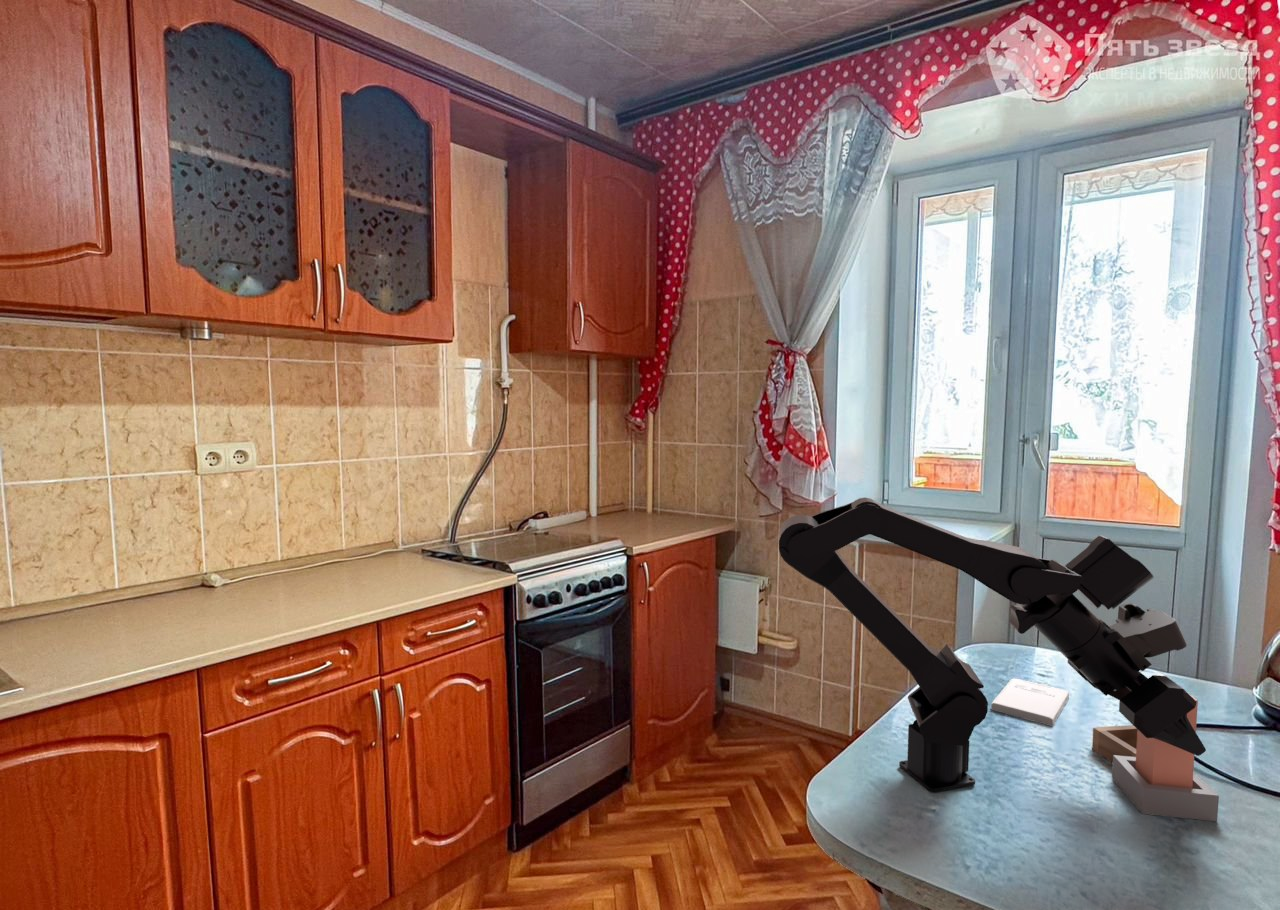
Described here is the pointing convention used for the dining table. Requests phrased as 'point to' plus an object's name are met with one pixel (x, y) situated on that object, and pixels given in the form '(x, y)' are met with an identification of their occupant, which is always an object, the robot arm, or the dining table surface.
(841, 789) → the dining table surface
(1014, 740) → the dining table surface
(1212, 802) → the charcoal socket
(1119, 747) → the walnut socket
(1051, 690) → the external hard drive
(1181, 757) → the peg
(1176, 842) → the dining table surface
